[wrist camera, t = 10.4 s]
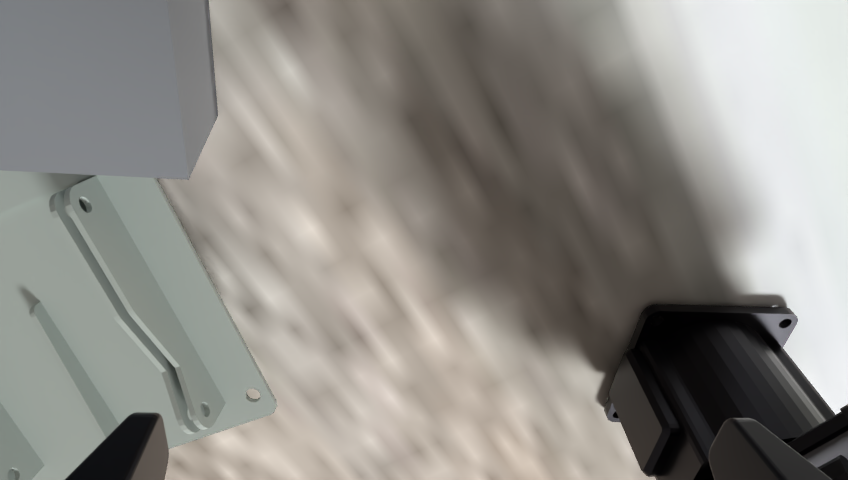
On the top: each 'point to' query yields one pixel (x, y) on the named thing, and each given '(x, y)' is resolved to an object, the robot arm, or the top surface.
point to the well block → (105, 86)
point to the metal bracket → (108, 323)
